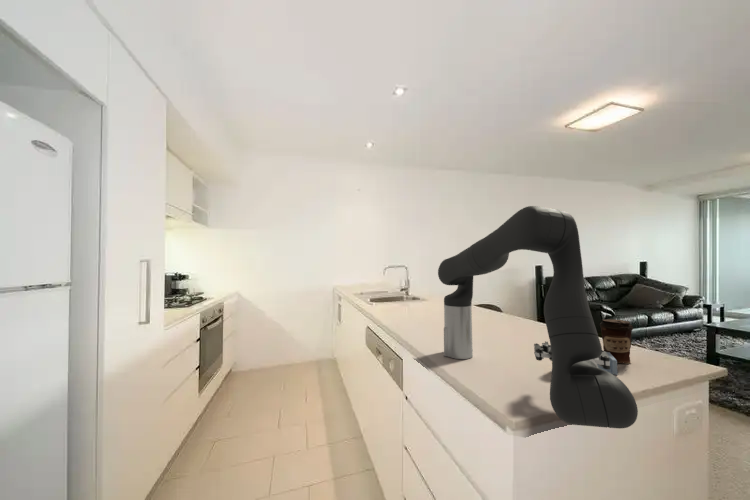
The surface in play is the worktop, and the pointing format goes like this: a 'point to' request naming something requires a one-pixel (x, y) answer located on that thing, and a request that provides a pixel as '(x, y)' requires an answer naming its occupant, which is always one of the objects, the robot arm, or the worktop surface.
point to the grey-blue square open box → (611, 365)
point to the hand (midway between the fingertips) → (565, 347)
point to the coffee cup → (617, 339)
